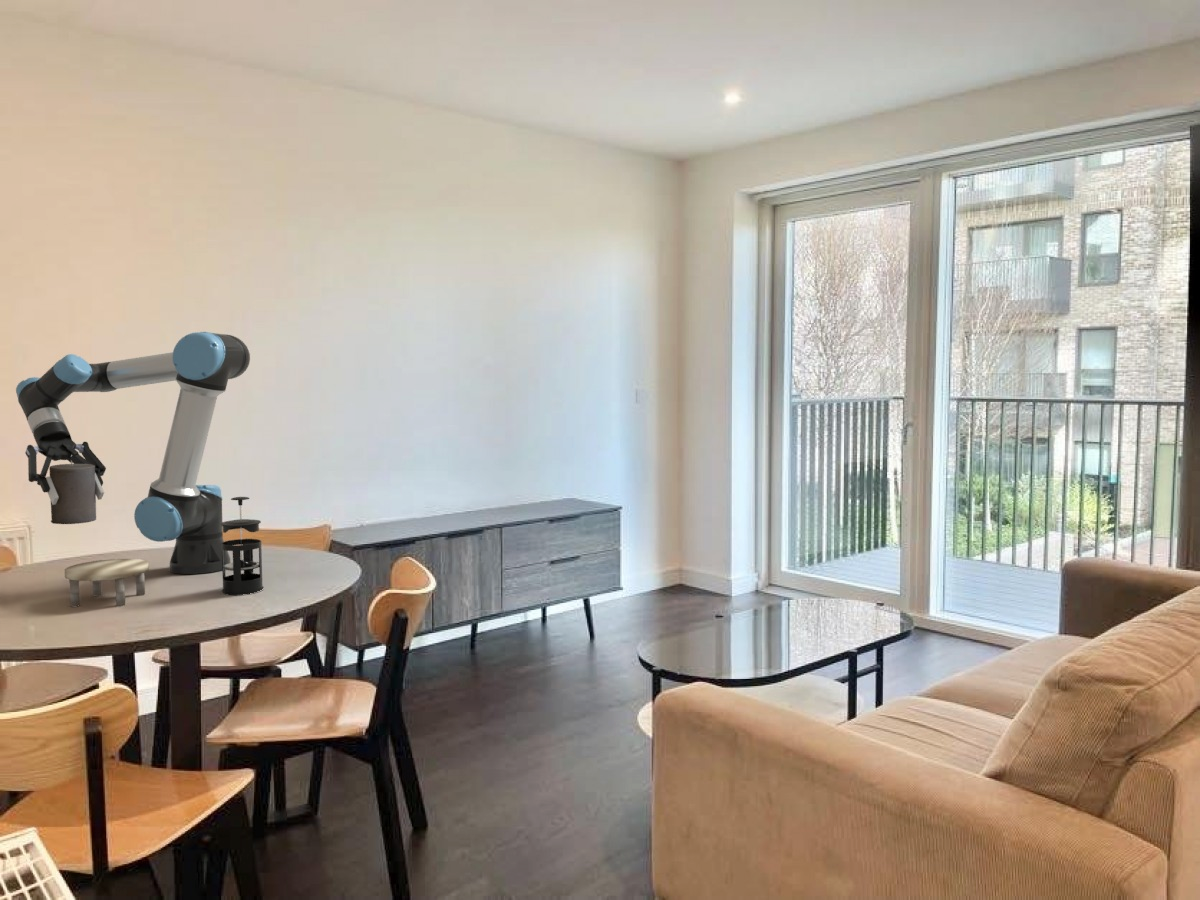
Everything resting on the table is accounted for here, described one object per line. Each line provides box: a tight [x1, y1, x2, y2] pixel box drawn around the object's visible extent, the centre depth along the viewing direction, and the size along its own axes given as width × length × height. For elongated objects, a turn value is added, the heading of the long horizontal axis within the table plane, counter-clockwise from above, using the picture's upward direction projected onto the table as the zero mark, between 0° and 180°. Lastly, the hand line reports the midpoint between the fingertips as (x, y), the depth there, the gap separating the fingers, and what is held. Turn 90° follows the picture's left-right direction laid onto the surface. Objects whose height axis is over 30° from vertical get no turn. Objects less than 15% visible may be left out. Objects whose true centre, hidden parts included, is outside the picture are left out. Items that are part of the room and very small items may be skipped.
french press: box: [221, 496, 264, 596], centre depth 212 cm, size 12×9×23 cm
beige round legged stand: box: [64, 558, 150, 607], centre depth 202 cm, size 17×17×8 cm
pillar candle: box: [48, 461, 97, 525], centre depth 214 cm, size 10×10×15 cm
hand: (78, 498), depth 212 cm, fingers closed on pillar candle, 9 cm apart
